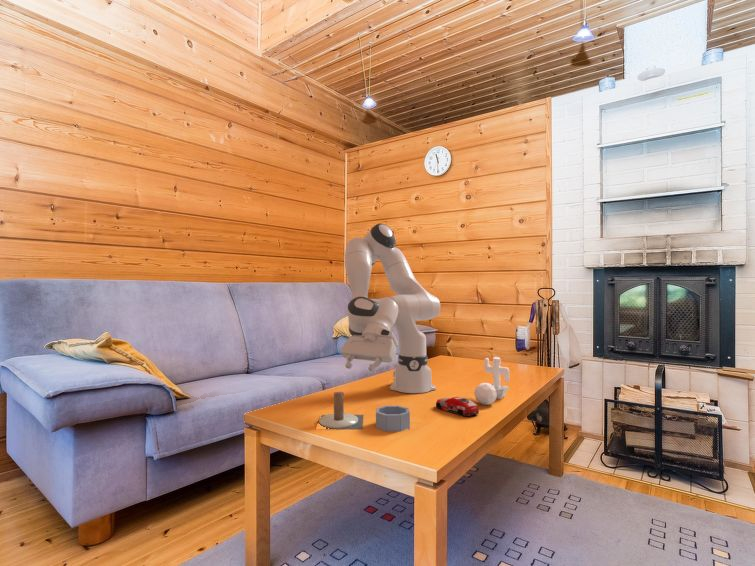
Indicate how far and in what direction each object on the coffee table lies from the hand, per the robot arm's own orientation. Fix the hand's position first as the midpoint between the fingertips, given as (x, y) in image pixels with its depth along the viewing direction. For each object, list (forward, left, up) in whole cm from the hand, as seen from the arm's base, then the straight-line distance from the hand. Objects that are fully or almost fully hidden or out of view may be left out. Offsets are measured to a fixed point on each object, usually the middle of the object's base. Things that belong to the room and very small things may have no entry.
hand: (359, 368), depth 143 cm
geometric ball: (-11, +45, -15) cm, 49 cm away
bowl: (+13, +10, -15) cm, 23 cm away
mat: (+10, -6, -15) cm, 19 cm away
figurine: (-21, +52, -15) cm, 58 cm away
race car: (-3, +33, -15) cm, 36 cm away
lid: (+10, -6, -14) cm, 19 cm away
